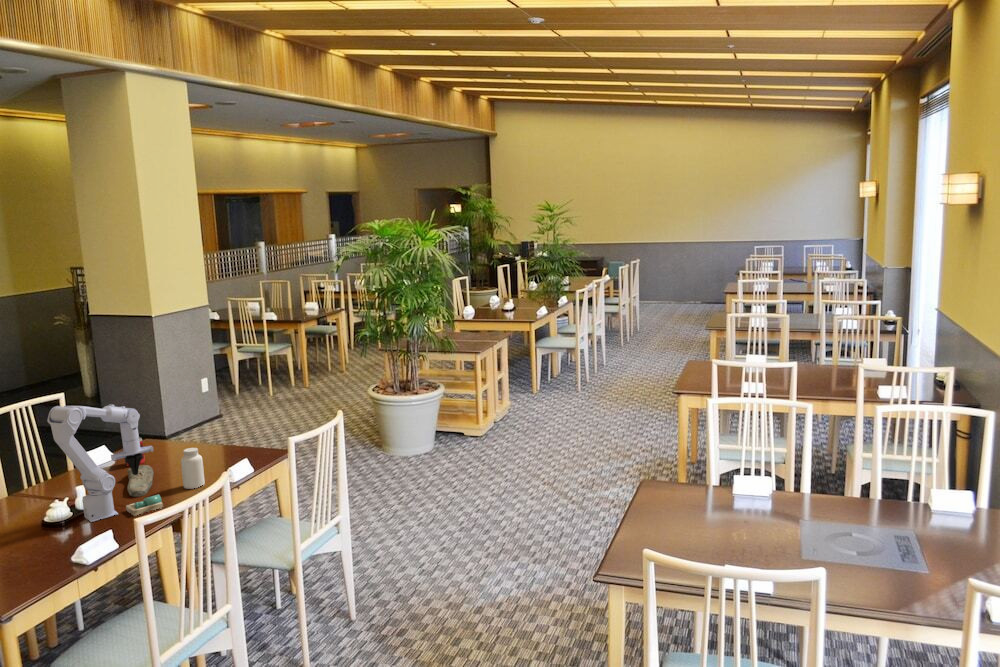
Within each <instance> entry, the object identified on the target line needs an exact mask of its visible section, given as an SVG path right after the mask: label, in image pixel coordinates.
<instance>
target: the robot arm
mask: <svg viewBox="0 0 1000 667" xmlns="http://www.w3.org/2000/svg"><path fill="white" fill-rule="evenodd" d="M86 417H92V418H100V419H101V421H103V422H107V423H116V424H117V423H118V424H119V426H120V434H121V435H120V436H121V440H122V447H123V448H122V449H123V450H122V451H120V452H116V453H113V454H110V458H111V461H113V462H114V461H118V460H121V459H124V461H125V460H126V461H127V463H128V464H129V466H130V467H129V466H128V467H129V468H131V471H132V474H133V475H137V474H138V469H139V466H140V465H139V464H140V461H141V459H142V455H141V454H142V453H144V454H145V453H149V452H151V453H152V452H154V446H152V445H146V446H143V447H140V442H139V438H140V436H139V428H138V427H139V420H140V417H141V414H140V413H139V412H138V410H137V409H136V408H131V407H126V406H124V405H121V406H115V404H112V403H111V404H108V405H106V406H104V407H102V408H99V407H93V406H92V407H91V406H84V405H64V406H62V405H61V406H60V405H56V406H53V407H52V408H51V409H50V411H49V413H48V416H47V423H48V424H49V425H50V428H51V433H52V436H53V437H52V438H53V441H54V442H55V443H56V444H57V446H58V447H59V448H60V449H61V450H62V452H63V453H64V454H65V455H66V457H67V458H68V459H69V461H71V463H72V464H73V465H74V466H75V468H76V469H77V470H78V471H79V472H80V474H81V475H80V476H79V477H80V478H79V479H81V481H82V485H83V488H84V489H85V490H87V493H88V494H86V495H83V496H82V498H81V500H82V508H83V514H84V516H83V517H84V518H85V519H86V520H87V519H88V520H89V521H90V522H89V521H88V520H87V521H88V522H89V523H93V522H96V521H101V520H103V519H104V520H105V519H107V518H110V517H111V518H112V517H114V515H115V516H118V515H119V513H118V512H117V510H115V505H114V498H113V490H114V487H115V485H116V478H115V477H114V475H112V474H110V473H108V472H107V471H106V470H105V469H103V468H100V466H98V465H97V464H96V462H95V461H94V460H93V458H92V457H91V456H90V454H89V453H88V452H87V451H86V450H85V448H84V447H83V446H82V445H81V444H80V442H79V441H78V439H76V438H75V436H74V435H75V434H76V433H77V430H78V428H80V424H81V423H82V421H83V420H85V419H86ZM100 519H101V520H100Z"/></svg>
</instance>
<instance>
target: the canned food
mask: <svg viewBox="0 0 1000 667" xmlns="http://www.w3.org/2000/svg"><path fill="white" fill-rule="evenodd" d="M139 442H140V447H144V443H143V439H142V437H139ZM141 455H142V459H141V461H140V464H142V465H144V464H145V463H144V462H146V461H145V460H146V457H145V453H142V454H141ZM124 463H125V466H126V465H128V466H127V467H129V464H128V463H127V461H126V460H125V459H124ZM143 463H144V464H143ZM140 464H139V466H141V465H140Z"/></svg>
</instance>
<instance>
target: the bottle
mask: <svg viewBox="0 0 1000 667" xmlns="http://www.w3.org/2000/svg"><path fill="white" fill-rule="evenodd" d="M162 500H163V499H162V497H161V495H160V494H155V495H151V496H148V497H144V498H143V500H142V502H141V501H137V502H138V503H137V502H134V503H135V504H134V505H135V509H139V508H143V507H146V506H150V505H153V504H157V503H160V502H162ZM162 503H163V502H162Z"/></svg>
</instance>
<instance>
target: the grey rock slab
mask: <svg viewBox="0 0 1000 667" xmlns="http://www.w3.org/2000/svg"><path fill="white" fill-rule="evenodd" d="M154 472H155V471H154V470H153V467H151V466H150V465H148V464H142V465H139V469H138V474H137V475H133V474H132V471H131V468H130V467H129V468H128V469H127V470H126V473H127V474H128V484H127V488H126V489H127V492H128V494H129V496H131V497H132V498H133V497H134V498H139V497H143V496H146V495H147V494H148V493H149V491H150V489H151V487H152V486H153V479H154V475H155V474H154Z"/></svg>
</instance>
